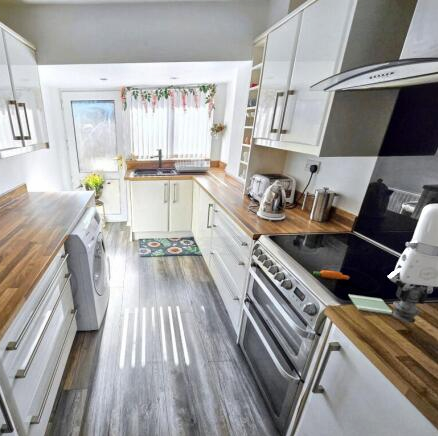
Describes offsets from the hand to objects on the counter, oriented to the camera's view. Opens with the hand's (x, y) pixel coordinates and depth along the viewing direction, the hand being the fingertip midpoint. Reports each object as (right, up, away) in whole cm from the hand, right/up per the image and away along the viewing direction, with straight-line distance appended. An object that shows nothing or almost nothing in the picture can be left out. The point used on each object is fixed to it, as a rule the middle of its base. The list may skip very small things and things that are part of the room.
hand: (409, 299), depth 74 cm
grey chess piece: (0, -6, +2) cm, 7 cm away
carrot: (-4, 0, +26) cm, 27 cm away
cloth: (-2, -6, +11) cm, 13 cm away
